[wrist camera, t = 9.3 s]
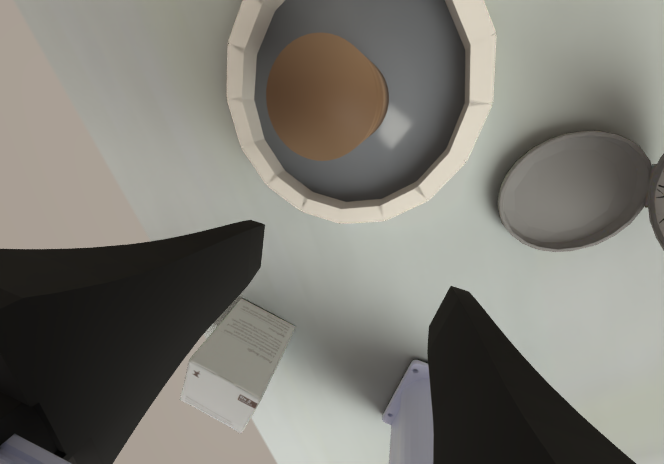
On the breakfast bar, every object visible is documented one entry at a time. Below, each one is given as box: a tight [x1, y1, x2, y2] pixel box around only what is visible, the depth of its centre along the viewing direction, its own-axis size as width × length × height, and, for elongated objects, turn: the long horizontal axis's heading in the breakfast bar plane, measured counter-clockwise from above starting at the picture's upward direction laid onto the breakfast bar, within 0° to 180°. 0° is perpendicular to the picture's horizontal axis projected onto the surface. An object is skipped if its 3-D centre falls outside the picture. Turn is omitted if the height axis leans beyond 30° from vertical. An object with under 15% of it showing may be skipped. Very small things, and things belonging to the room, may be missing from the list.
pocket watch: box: [498, 130, 664, 252], centre depth 11 cm, size 8×8×10 cm
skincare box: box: [180, 299, 295, 433], centre depth 24 cm, size 6×6×7 cm
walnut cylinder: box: [266, 33, 389, 161], centre depth 13 cm, size 4×4×6 cm
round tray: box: [227, 0, 496, 224], centre depth 15 cm, size 14×14×2 cm
